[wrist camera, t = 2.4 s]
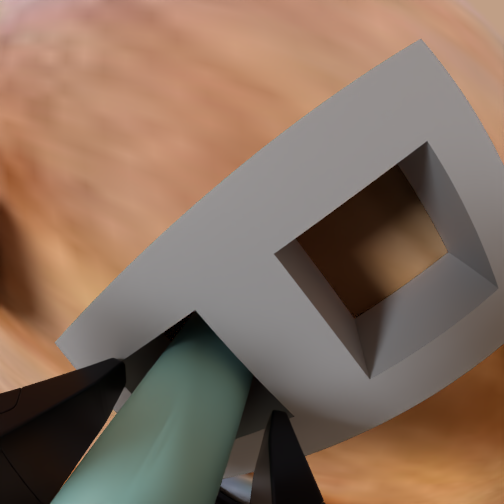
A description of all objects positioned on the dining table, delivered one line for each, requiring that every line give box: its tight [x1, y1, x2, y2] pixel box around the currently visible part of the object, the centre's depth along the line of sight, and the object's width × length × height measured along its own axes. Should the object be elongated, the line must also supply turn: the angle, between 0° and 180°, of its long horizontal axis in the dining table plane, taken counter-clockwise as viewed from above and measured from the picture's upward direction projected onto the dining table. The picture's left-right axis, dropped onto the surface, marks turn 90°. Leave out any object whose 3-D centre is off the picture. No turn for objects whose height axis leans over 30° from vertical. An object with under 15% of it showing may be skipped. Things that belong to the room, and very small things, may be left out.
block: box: [55, 39, 504, 479], centre depth 9 cm, size 8×14×4 cm, turn 129°
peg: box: [50, 311, 254, 504], centre depth 7 cm, size 3×3×10 cm
